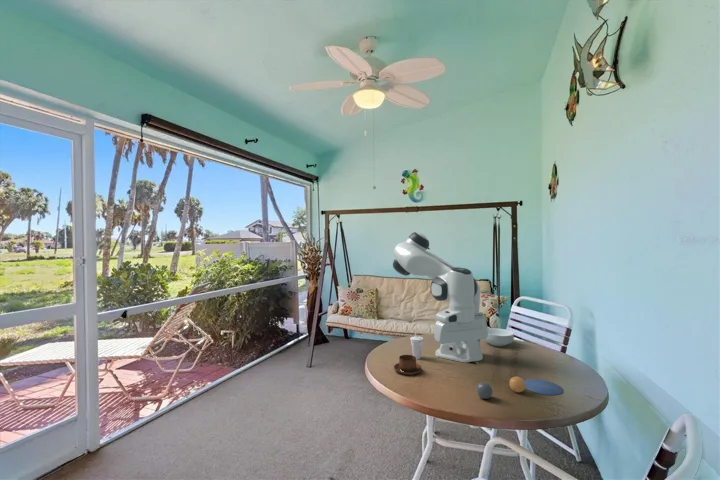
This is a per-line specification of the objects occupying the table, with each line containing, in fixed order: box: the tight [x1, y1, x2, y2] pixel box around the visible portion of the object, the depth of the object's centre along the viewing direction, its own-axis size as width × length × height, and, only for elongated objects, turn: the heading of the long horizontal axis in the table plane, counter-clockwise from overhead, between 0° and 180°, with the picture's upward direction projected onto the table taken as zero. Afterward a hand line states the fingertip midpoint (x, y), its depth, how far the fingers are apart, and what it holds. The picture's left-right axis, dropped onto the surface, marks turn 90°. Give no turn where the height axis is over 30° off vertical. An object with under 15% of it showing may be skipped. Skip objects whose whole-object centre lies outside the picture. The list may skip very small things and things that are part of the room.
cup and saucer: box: [393, 354, 423, 375], centre depth 148 cm, size 12×12×6 cm
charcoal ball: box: [476, 381, 494, 400], centre depth 122 cm, size 6×6×6 cm
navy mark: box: [523, 378, 564, 396], centre depth 130 cm, size 14×14×1 cm
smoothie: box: [410, 328, 424, 360], centre depth 164 cm, size 6×6×14 cm
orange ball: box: [509, 376, 526, 393], centre depth 126 cm, size 6×6×6 cm
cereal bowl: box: [483, 327, 515, 347], centre depth 185 cm, size 17×17×7 cm
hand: (461, 353), depth 119 cm, fingers closed
